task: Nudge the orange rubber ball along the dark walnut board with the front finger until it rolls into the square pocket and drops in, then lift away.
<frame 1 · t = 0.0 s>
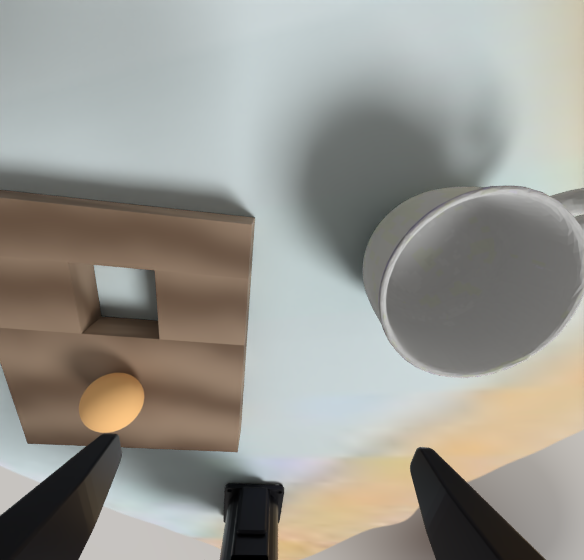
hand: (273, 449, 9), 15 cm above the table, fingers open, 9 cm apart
teacup: (435, 243, 22), on the table
ball: (113, 401, 21), point 4 cm above the table, touching pocket board
pocket board: (138, 332, 24), on the table
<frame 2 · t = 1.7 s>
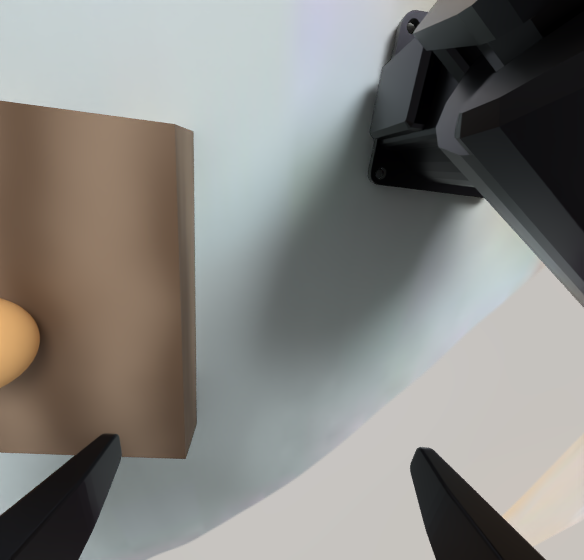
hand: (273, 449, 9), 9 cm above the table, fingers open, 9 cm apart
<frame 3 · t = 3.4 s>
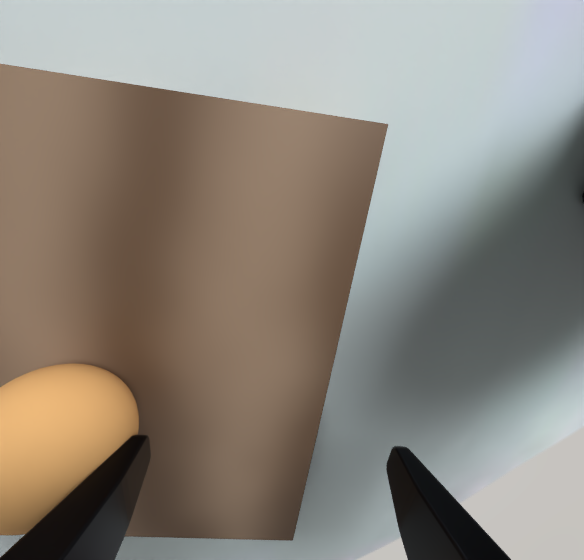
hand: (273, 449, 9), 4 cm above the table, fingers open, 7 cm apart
ball: (57, 438, 8), point 4 cm above the table, tilted 10°, touching gripper, pocket board
pocket board: (67, 337, 12), on the table
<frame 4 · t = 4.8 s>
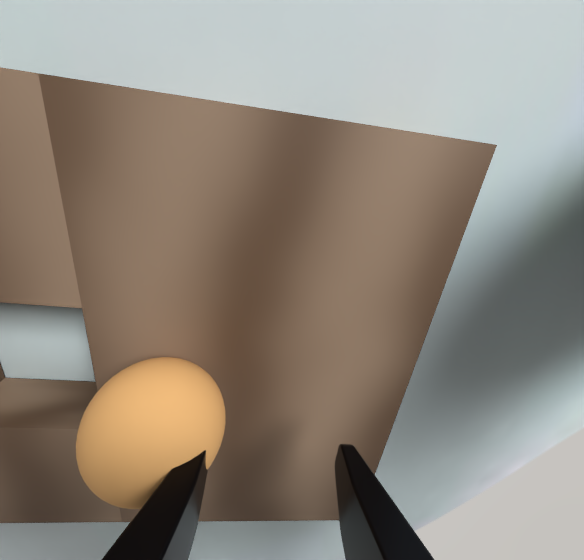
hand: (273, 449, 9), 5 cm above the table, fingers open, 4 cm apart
ball: (158, 424, 9), point 4 cm above the table, tilted 40°, touching gripper, pocket board
pocket board: (156, 336, 13), on the table
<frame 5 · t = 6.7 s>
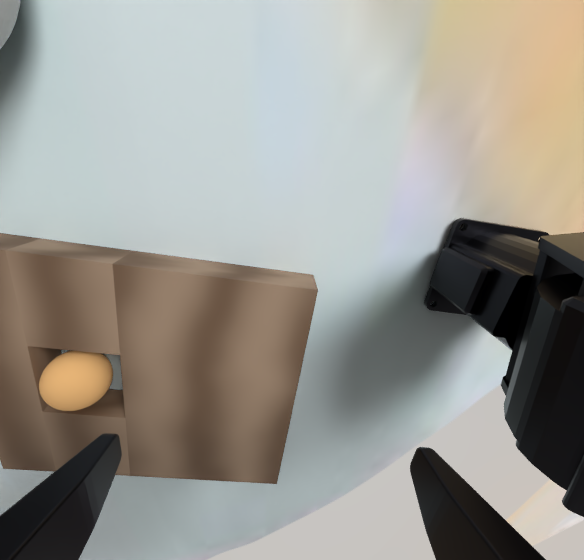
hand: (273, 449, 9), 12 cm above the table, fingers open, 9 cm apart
ball: (78, 378, 19), point 2 cm above the table, tilted 113°
pocket board: (156, 365, 22), on the table
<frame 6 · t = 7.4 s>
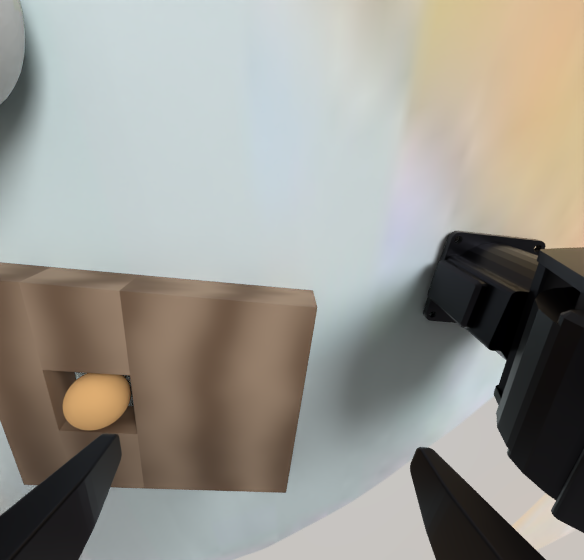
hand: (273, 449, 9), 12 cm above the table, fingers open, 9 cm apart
ball: (98, 398, 20), point 2 cm above the table, tilted 127°
pocket board: (165, 382, 22), on the table
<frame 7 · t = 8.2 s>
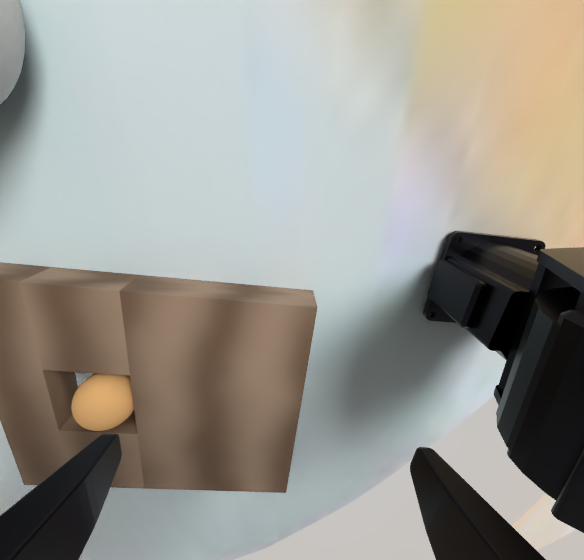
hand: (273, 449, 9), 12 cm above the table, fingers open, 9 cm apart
ball: (106, 399, 20), point 2 cm above the table, tilted 143°
pocket board: (165, 382, 22), on the table
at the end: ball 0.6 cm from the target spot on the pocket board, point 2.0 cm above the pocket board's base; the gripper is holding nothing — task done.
